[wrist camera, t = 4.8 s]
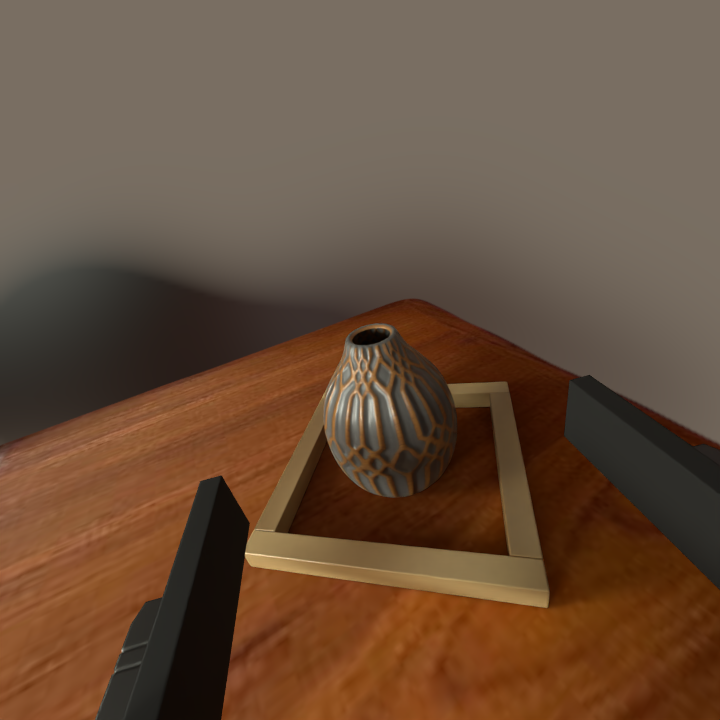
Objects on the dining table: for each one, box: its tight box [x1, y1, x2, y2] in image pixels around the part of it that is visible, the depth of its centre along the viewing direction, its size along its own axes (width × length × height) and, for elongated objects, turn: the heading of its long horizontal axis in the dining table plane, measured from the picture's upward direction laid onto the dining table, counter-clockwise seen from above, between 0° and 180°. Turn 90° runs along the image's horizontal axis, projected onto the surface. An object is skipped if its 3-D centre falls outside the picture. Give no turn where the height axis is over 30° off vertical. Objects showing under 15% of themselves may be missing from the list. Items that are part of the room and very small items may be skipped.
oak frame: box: [245, 382, 550, 608], centre depth 20 cm, size 13×13×1 cm
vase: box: [323, 324, 457, 497], centre depth 18 cm, size 7×7×9 cm
